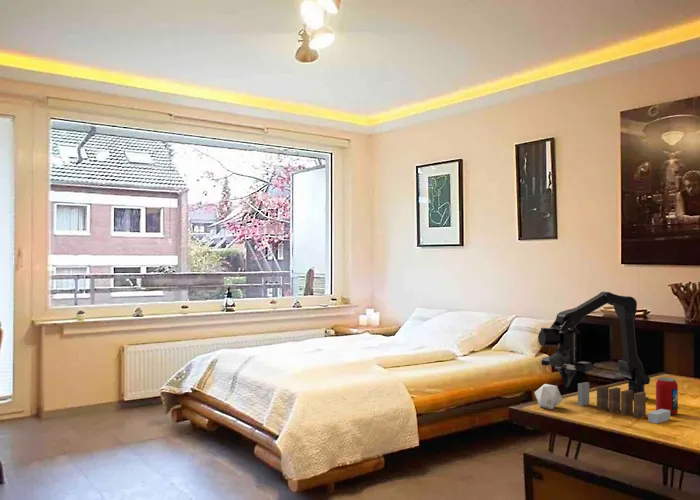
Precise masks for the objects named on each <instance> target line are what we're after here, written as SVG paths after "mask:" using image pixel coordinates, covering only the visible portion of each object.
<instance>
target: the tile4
mask: <svg viewBox="0 0 700 500" xmlns="http://www.w3.org/2000/svg"><path fill="white" fill-rule="evenodd" d="M646 397H647V396H646V392H638V393H634V399H633V418H636V419H640V418H644V417H646V416H647V414H646V409H647V408H646V405H647V403H646V402H647V399H646Z"/></svg>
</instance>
